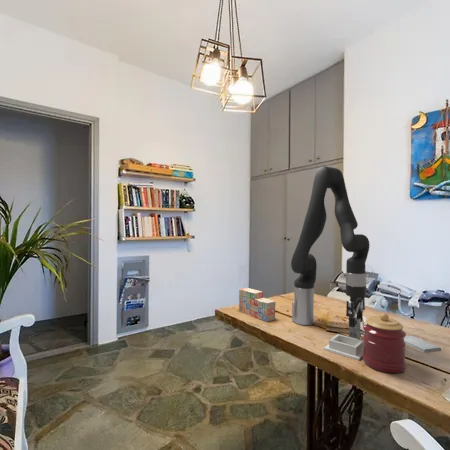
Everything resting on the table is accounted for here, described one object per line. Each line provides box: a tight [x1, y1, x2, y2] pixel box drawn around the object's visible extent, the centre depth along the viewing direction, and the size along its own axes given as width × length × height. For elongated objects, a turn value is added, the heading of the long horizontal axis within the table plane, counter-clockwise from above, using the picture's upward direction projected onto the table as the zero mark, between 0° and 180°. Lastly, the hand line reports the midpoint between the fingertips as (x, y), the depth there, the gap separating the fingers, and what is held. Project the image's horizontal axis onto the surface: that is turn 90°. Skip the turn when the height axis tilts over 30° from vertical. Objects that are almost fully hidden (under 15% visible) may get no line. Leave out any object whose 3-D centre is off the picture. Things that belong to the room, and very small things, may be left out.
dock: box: [323, 333, 364, 361], centre depth 114 cm, size 13×11×4 cm
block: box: [348, 317, 364, 341], centre depth 119 cm, size 6×4×10 cm, turn 47°
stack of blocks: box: [238, 287, 276, 323], centre depth 155 cm, size 21×6×12 cm, turn 37°
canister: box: [362, 312, 407, 374], centre depth 102 cm, size 13×13×18 cm
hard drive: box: [404, 335, 442, 353], centre depth 119 cm, size 2×8×12 cm
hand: (355, 324), depth 120 cm, fingers open, 8 cm apart
